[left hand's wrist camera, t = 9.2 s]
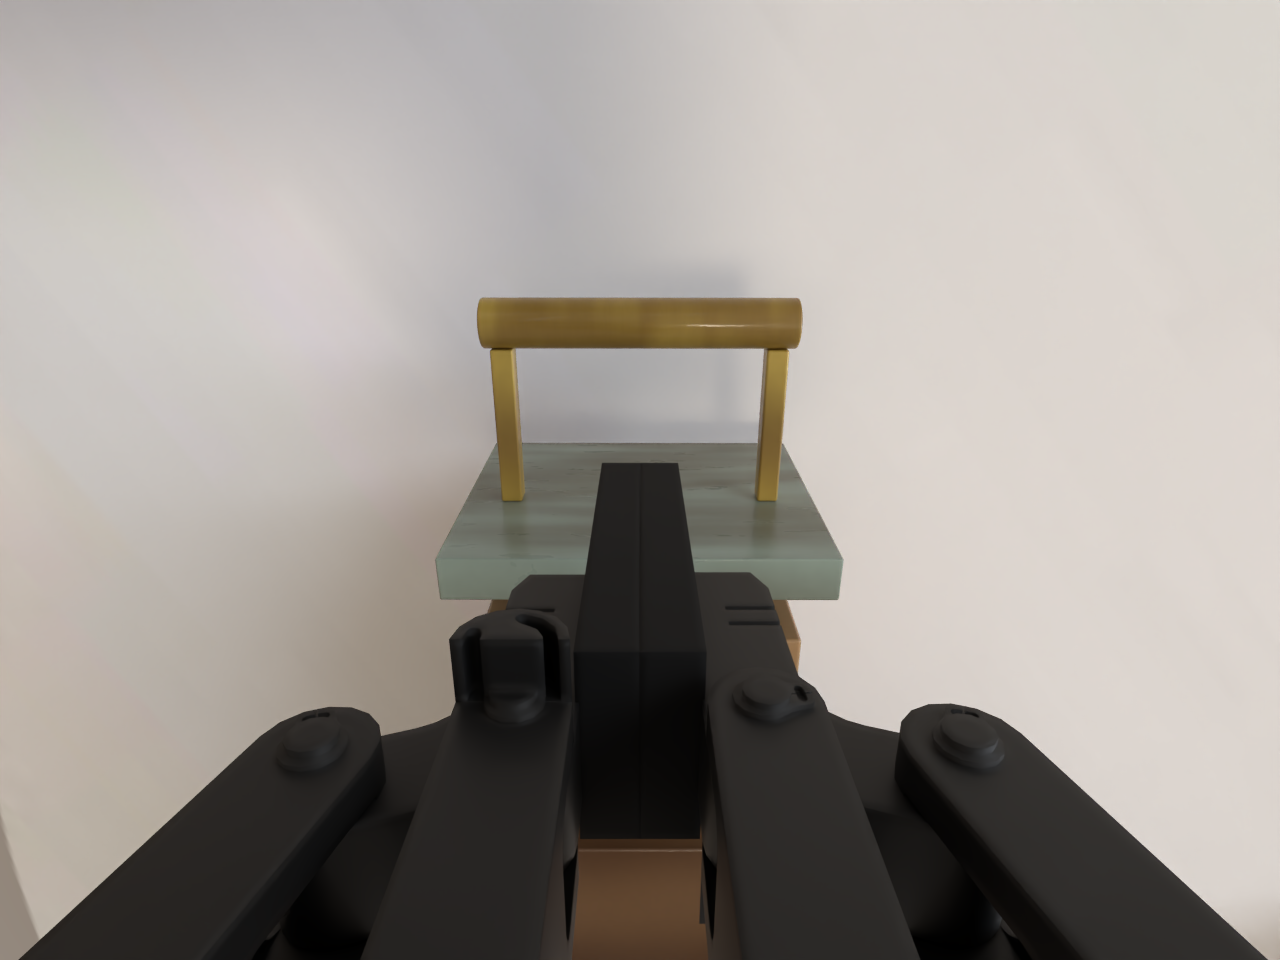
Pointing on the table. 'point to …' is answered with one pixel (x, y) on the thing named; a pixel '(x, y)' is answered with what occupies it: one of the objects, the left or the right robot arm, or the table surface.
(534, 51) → the table surface
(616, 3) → the table surface
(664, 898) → the cabinet
